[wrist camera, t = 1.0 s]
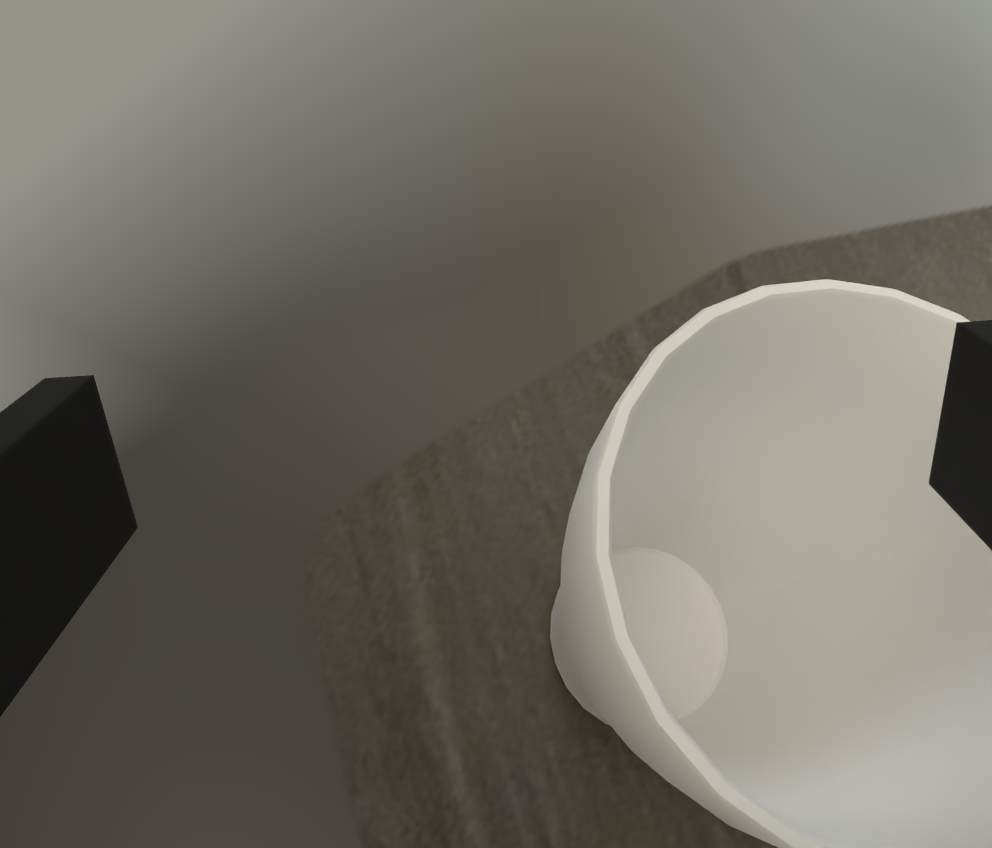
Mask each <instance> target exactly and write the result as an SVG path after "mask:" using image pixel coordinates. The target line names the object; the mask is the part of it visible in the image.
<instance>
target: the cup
mask: <svg viewBox="0 0 992 848" xmlns="http://www.w3.org/2000/svg"><path fill="white" fill-rule="evenodd" d="M957 322H970V321H969V320H967V319H966V318H964V317H963V316H961V315H960V314H957V313H955V312H952V311H950V310H947V309H945V308H942V307H939V306H937V305H934V304H932V303H929V302H927V301H924V300H921V299H919V298H916V297H914V296H911V295H909V294H906V293H903V292H901V291H898V290H896V289H890V288H884V287H877V286H870V285H863V284H857V283H850V282H843V281H836V280H830V279H823V280H813V281H804V282H794V283H784V284H774V285H765V286H760V287H758V288H755V289H753V290H750V291H748V292H745V293H743V294H740V295H738V296H735V297H732V298H730V299H727V300H725V301H722V302H720V303H717V304H715V305H712V306H710V307H707V308H705V309H703V310H701V311H700V312H699V313H698V314H696V315H695V316H694V317H693V318H691V319H690V320H689V321H688V322H686V323H685V324H684V325H683V326H681V327H680V328H679V329H678V330H676V331H675V332H674V333H673V334H671V335H670V336H669V337H668V338H666V339H665V340H664V341H663V342H661V343H660V344H659V345H658V346H656V347H655V348H654V349H653V350H652V351H651V353H650V354H649V356H648V357H647V359H646V360H645V362H644V363H643V365H642V366H641V368H640V369H639V371H638V372H637V373H636V375H635V376H634V378H633V379H632V381H631V382H630V384H629V385H628V387H627V388H626V390H625V391H624V393H623V394H622V396H621V397H620V399H619V400H618V402H617V403H616V405H615V406H614V408H613V410H612V412H611V413H610V415H609V417H608V419H607V421H606V423H605V424H604V426H603V428H602V430H601V432H600V434H599V435H598V437H597V439H596V441H595V443H594V445H593V446H592V448H591V450H590V452H589V454H588V457H587V460H586V463H585V466H584V470H583V473H582V476H581V479H580V482H579V485H578V488H577V492H576V495H575V498H574V501H573V504H572V507H571V511H570V514H569V519H568V524H567V529H566V534H565V539H564V544H563V549H562V559H561V583H560V588H559V589H558V592H557V596H556V599H555V602H554V605H553V608H552V612H551V627H550V641H551V645H552V650H553V655H554V660H555V664H556V666H557V669H558V671H559V673H560V675H561V677H562V679H563V681H564V683H565V685H566V687H567V689H568V690H569V691H570V692H571V694H572V695H573V696H574V697H575V698H576V700H577V701H578V702H579V703H580V704H581V706H582V707H583V708H584V709H585V710H587V711H588V712H590V713H591V714H592V715H594V716H595V717H596V718H598V719H599V720H601V721H602V722H603V723H605V724H607V725H610V726H611V727H612V728H613V729H614V730H615V732H616V733H617V734H618V735H619V736H620V738H621V739H622V740H623V741H624V742H625V743H626V745H627V746H628V747H629V748H630V749H631V751H632V752H633V753H635V754H636V755H637V756H638V757H639V758H641V759H642V760H643V761H644V762H645V763H646V764H648V765H649V766H650V767H651V768H652V769H653V770H655V771H656V772H657V773H658V774H659V775H660V776H662V777H663V778H664V779H665V780H666V781H668V782H669V783H670V784H672V785H673V786H675V787H676V788H677V789H679V790H680V791H682V792H683V793H684V794H686V795H687V796H689V797H690V798H691V799H693V800H694V801H696V802H697V803H698V804H700V805H701V806H702V807H704V808H705V809H707V810H708V811H709V812H711V813H712V814H714V815H715V816H716V817H718V818H719V819H721V820H722V821H723V822H725V823H726V824H728V825H729V826H731V827H734V828H736V829H738V830H740V831H743V832H745V833H747V834H749V835H751V836H754V837H756V838H758V839H760V840H763V841H765V842H767V843H769V844H771V845H774V846H776V847H778V848H992V550H991V549H990V548H989V547H988V546H987V545H986V544H985V543H984V542H983V541H982V540H981V539H980V538H979V537H978V535H977V534H976V533H975V532H974V531H973V530H972V529H971V528H970V527H969V526H968V525H967V524H966V523H965V522H964V521H963V520H962V519H961V517H960V516H959V515H958V514H957V513H956V512H955V511H954V510H953V509H952V508H951V507H950V506H949V505H948V504H947V503H946V502H945V500H944V499H943V498H942V497H941V496H940V495H939V494H938V493H937V492H936V491H935V490H934V489H933V488H932V487H931V486H930V485H929V478H930V472H931V467H932V461H933V455H934V449H935V444H936V438H937V432H938V426H939V421H940V415H941V409H942V404H943V398H944V392H945V386H946V381H947V375H948V369H949V363H950V358H951V352H952V346H953V340H954V335H955V329H956V323H957Z"/></svg>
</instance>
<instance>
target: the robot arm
mask: <svg viewBox="0 0 992 848" xmlns="http://www.w3.org/2000/svg"><path fill="white" fill-rule="evenodd" d="M929 485H930V486H931V487H932V488H933V489H934V490H935V491H936V492H937V493H938V494H939V495H940V496H941V497H942V498H943V499H944V500H945V502H946V503H947V504H948V505H949V506H950V507H951V508H952V509H953V510H954V511H955V512H956V513H957V514H958V515H959V516H960V517H961V519H962V520H963V521H964V522H965V523H966V524H967V525H968V526H969V527H970V528H971V529H972V530H973V531H974V532H975V533H976V534H977V535H978V537H979V538H980V539H981V540H982V541H983V542H984V543H985V544H986V545H987V546H988V547H989V548H990V549H991V550H992V320H990V321H973V322H957V323H956V329H955V335H954V340H953V346H952V352H951V358H950V363H949V369H948V375H947V381H946V386H945V392H944V398H943V404H942V409H941V415H940V421H939V426H938V432H937V438H936V444H935V449H934V455H933V461H932V467H931V472H930V478H929ZM136 529H137V524H136V520H135V517H134V513H133V510H132V507H131V503H130V500H129V496H128V493H127V489H126V486H125V482H124V479H123V475H122V472H121V469H120V465H119V462H118V458H117V455H116V451H115V448H114V445H113V441H112V437H111V434H110V431H109V427H108V424H107V420H106V417H105V414H104V410H103V406H102V403H101V400H100V396H99V393H98V389H97V386H96V382H95V379H94V376H93V375H92V376H75V377H59V378H45V379H43V380H42V381H41V382H39V383H38V384H37V385H36V386H34V387H33V388H32V389H30V390H29V391H28V392H26V393H25V394H24V395H23V396H21V397H20V398H19V399H17V400H16V401H15V402H14V403H12V404H11V405H10V406H8V407H7V408H6V409H5V410H3V411H2V412H0V716H1V715H2V714H3V712H4V711H5V710H6V708H7V707H8V705H9V704H10V703H11V701H12V700H13V698H14V697H15V696H16V694H17V693H18V692H19V690H20V689H21V687H22V686H23V685H24V683H25V682H26V681H27V679H28V678H29V676H30V675H31V674H32V672H33V671H34V670H35V668H36V667H37V665H38V664H39V663H40V661H41V660H42V659H43V657H44V656H45V654H46V653H47V652H48V650H49V649H50V647H51V646H52V645H53V643H54V642H55V641H56V639H57V638H58V636H59V635H60V634H61V632H62V631H63V630H64V628H65V627H66V625H67V624H68V622H69V621H70V620H71V618H72V617H73V616H74V614H75V613H76V612H77V610H78V609H79V607H80V606H81V605H82V603H83V602H84V601H85V599H86V598H87V596H88V595H89V594H90V592H91V591H92V590H93V588H94V587H95V585H96V584H97V583H98V581H99V580H100V579H101V577H102V576H103V574H104V573H105V572H106V570H107V569H108V567H109V566H110V564H111V563H112V562H113V561H114V559H115V557H116V556H117V555H118V554H119V552H120V551H121V550H122V548H123V547H124V545H125V544H126V543H127V541H128V540H129V539H130V537H131V536H132V534H133V533H134V531H135V530H136Z"/></svg>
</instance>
